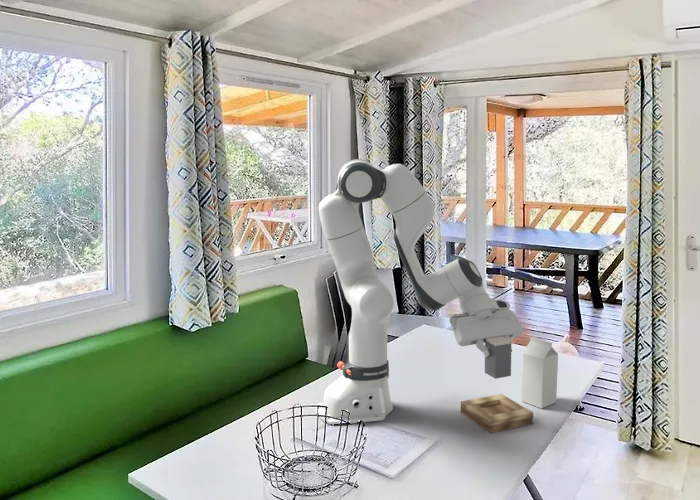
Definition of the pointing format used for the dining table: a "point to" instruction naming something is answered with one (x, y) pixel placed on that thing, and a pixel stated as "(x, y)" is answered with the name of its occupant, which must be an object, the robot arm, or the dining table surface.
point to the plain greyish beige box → (498, 357)
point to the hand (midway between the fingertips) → (499, 354)
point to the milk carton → (539, 373)
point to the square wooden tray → (496, 413)
